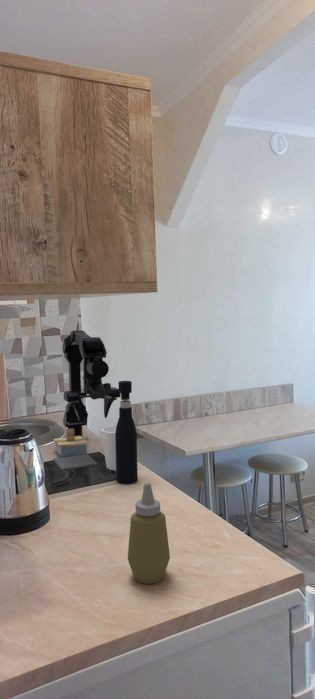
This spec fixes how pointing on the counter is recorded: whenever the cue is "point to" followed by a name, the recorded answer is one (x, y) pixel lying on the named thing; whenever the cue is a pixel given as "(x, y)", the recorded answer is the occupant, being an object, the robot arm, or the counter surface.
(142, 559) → the squeeze bottle
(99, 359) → the robot arm
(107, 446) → the foam cup
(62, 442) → the lid
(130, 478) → the black bottle
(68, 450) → the dish
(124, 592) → the counter surface
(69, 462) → the mat
